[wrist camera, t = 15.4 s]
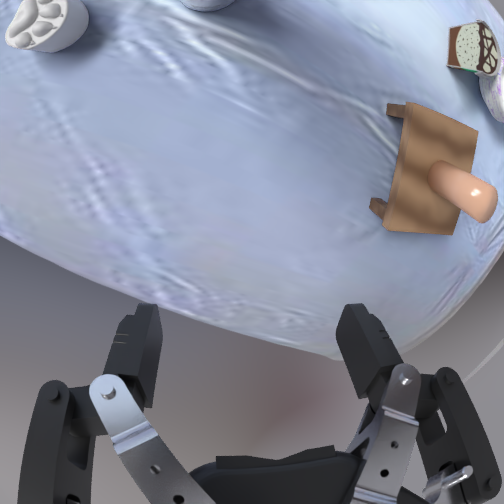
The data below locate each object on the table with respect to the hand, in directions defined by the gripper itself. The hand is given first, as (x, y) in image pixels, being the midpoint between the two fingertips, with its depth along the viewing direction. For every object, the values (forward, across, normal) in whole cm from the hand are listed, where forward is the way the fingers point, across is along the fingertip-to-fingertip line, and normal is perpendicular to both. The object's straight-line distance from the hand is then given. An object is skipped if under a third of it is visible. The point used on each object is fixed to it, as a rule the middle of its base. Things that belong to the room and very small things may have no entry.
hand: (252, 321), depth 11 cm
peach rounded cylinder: (+25, -32, -3) cm, 40 cm away
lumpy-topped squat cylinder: (+33, +30, -26) cm, 52 cm away
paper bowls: (+34, -53, -26) cm, 68 cm away
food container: (+34, -41, -29) cm, 60 cm away
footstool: (+33, -32, -3) cm, 46 cm away
